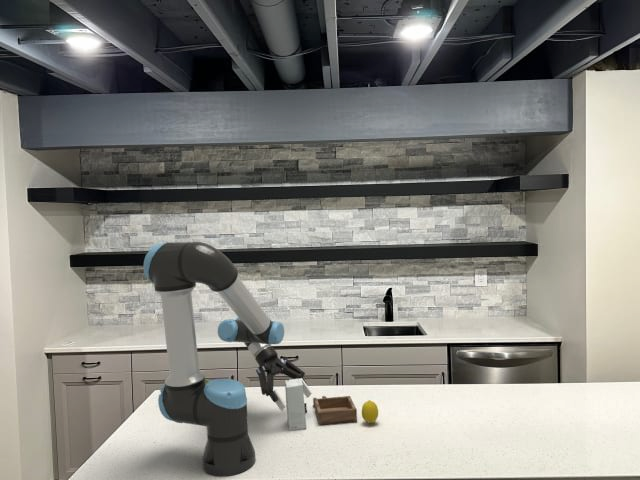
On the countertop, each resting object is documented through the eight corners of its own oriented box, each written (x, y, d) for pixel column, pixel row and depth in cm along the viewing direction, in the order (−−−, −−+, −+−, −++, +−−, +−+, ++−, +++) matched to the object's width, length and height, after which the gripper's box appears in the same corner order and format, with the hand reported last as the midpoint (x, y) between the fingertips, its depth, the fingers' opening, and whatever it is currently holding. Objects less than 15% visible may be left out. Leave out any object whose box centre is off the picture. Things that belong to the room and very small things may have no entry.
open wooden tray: (357, 422, 168) (356, 409, 168) (319, 426, 166) (318, 412, 166) (350, 408, 181) (349, 395, 181) (315, 411, 179) (314, 399, 179)
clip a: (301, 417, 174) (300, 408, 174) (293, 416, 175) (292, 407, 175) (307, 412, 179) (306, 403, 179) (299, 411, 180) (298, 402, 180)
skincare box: (306, 429, 164) (304, 385, 164) (288, 431, 163) (286, 386, 163) (303, 419, 173) (301, 377, 172) (286, 421, 172) (284, 378, 171)
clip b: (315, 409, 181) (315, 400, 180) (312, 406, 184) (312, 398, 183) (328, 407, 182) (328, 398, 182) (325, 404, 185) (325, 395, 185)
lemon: (382, 423, 166) (381, 399, 166) (372, 428, 162) (371, 404, 162) (368, 419, 170) (367, 396, 170) (358, 424, 166) (357, 401, 166)
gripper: (281, 350, 188) (314, 396, 180) (232, 367, 169) (266, 420, 160) (291, 337, 185) (325, 384, 176) (242, 354, 165) (277, 407, 157)
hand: (297, 401), depth 168 cm, fingers open, 13 cm apart
